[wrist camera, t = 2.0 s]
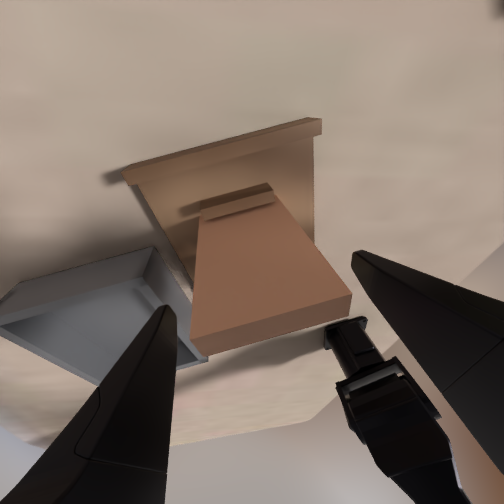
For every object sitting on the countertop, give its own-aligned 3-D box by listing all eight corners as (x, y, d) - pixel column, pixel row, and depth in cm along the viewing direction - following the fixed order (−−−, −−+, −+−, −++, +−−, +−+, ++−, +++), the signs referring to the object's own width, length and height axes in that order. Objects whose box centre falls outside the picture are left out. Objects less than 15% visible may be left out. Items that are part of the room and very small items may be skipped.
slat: (278, 211, 16) (348, 315, 8) (205, 231, 16) (203, 357, 8) (275, 194, 15) (352, 293, 7) (199, 215, 15) (189, 339, 7)
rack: (311, 281, 23) (321, 297, 21) (211, 309, 23) (211, 328, 21) (308, 117, 13) (325, 119, 11) (131, 164, 13) (117, 174, 11)
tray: (208, 330, 25) (208, 361, 22) (118, 356, 25) (106, 390, 22) (154, 246, 17) (141, 276, 14) (18, 283, 16) (-25, 322, 13)
